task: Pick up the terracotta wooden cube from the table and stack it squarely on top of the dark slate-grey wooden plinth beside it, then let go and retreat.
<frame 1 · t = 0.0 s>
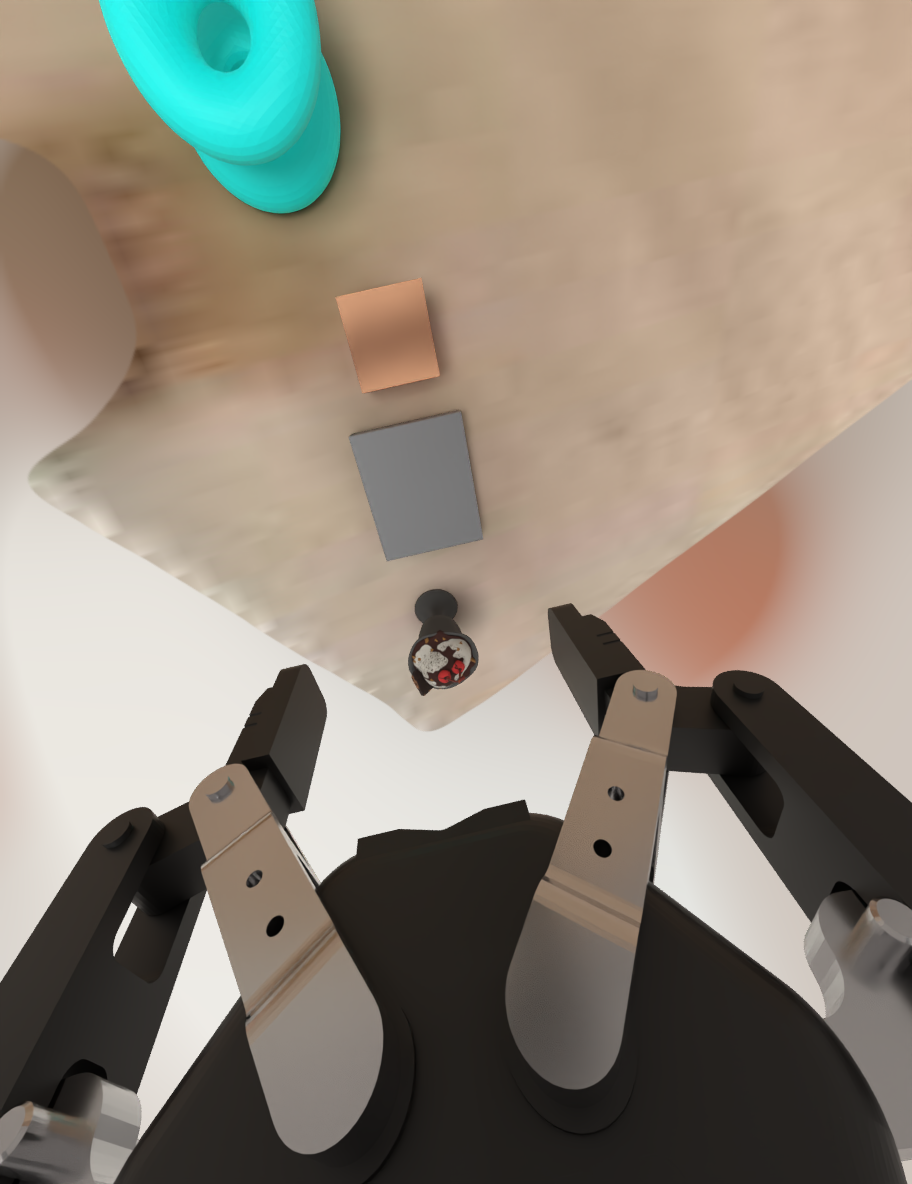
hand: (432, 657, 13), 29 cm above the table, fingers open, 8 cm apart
cube: (392, 345, 34), on the table
sundae: (436, 606, 46), on the table
base: (420, 485, 40), on the table
donuts: (268, 124, 27), on the table
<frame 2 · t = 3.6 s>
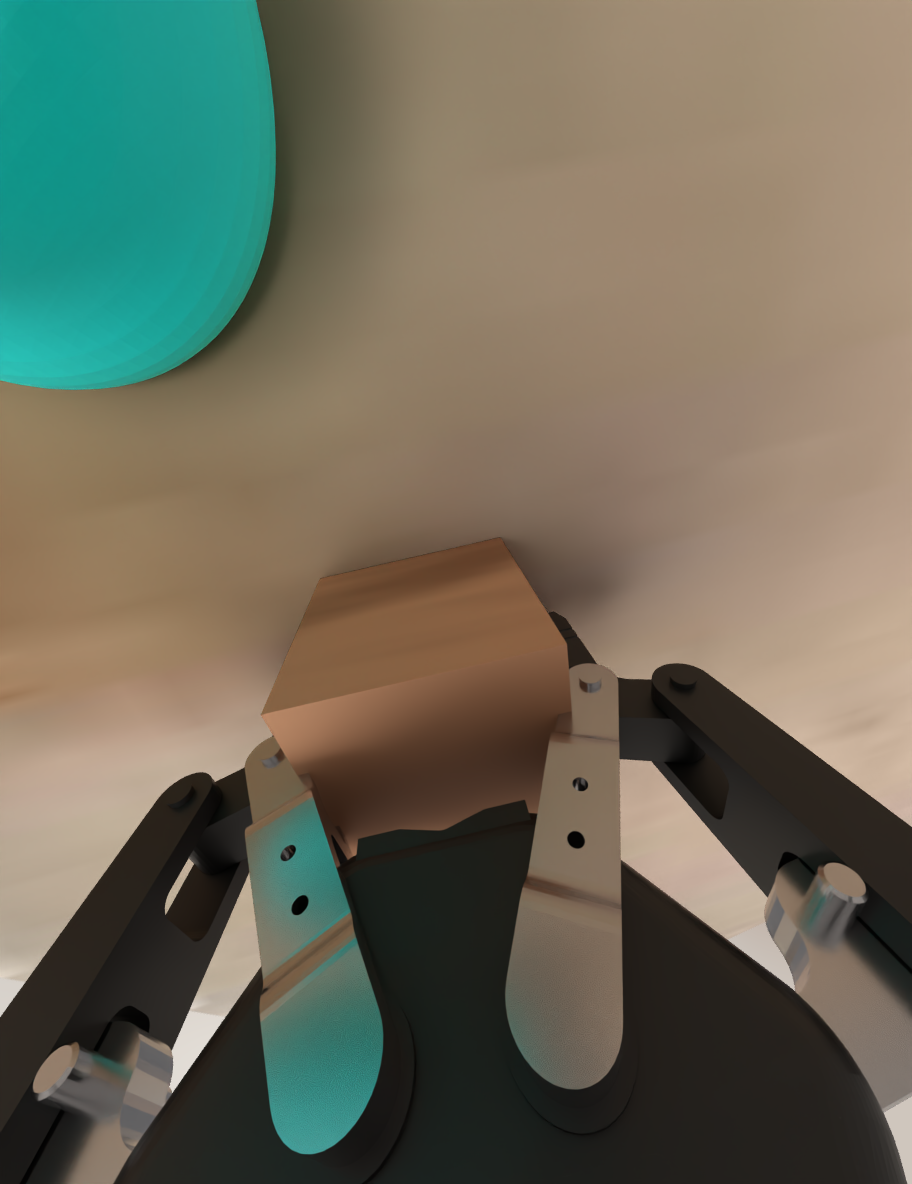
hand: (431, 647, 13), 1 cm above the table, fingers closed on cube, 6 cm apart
cube: (430, 632, 14), on the table, touching gripper
donuts: (27, 102, 8), on the table
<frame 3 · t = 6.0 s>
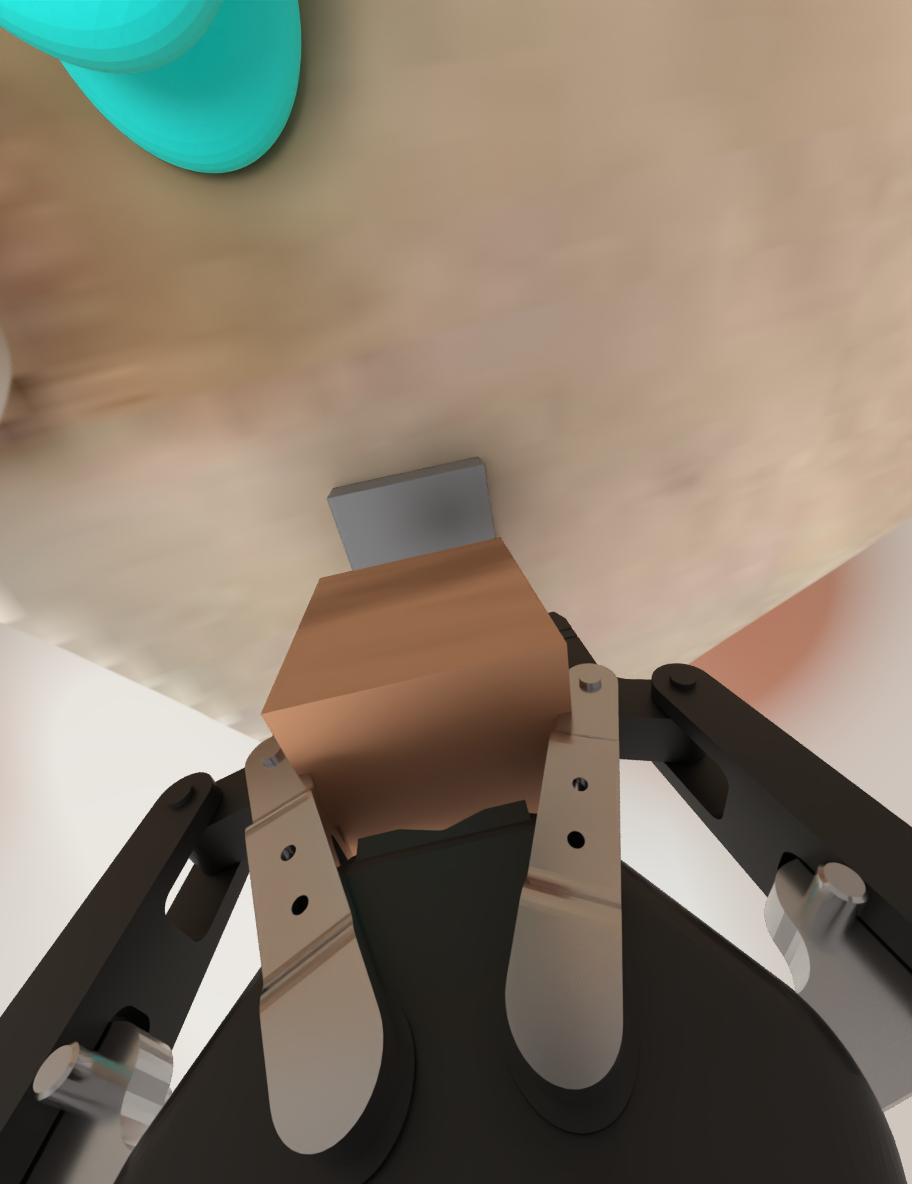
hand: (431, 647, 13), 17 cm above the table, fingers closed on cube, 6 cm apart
cube: (430, 632, 14), point 16 cm above the table, touching gripper
base: (424, 549, 30), on the table
donuts: (186, 25, 17), on the table
when the fingers open (5 cm above the table, at t = 8.8 s): cube drops 2 cm, resting on base.
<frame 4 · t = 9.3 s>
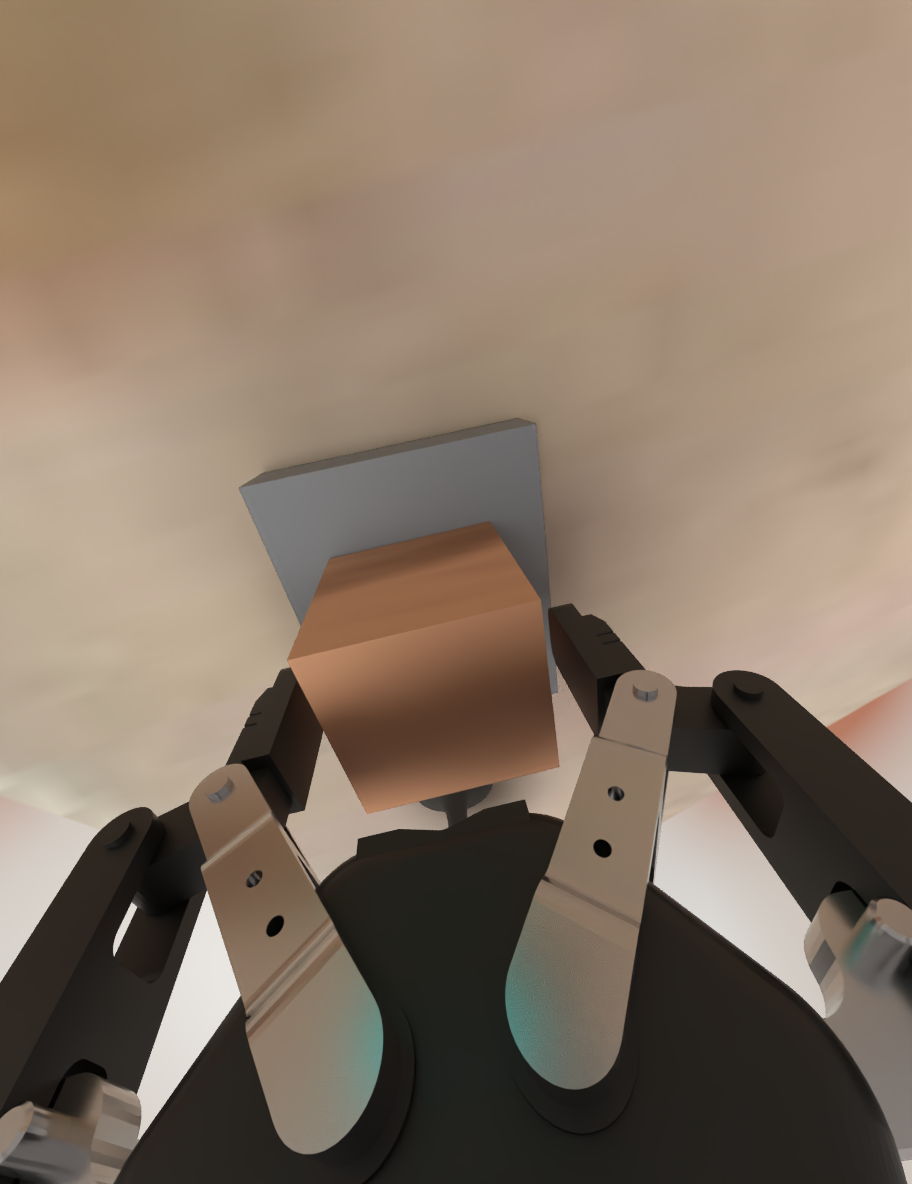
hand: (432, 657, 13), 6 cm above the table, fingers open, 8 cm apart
cube: (428, 608, 16), point 2 cm above the table, touching base
sundae: (453, 780, 25), on the table
base: (424, 576, 18), on the table, touching cube
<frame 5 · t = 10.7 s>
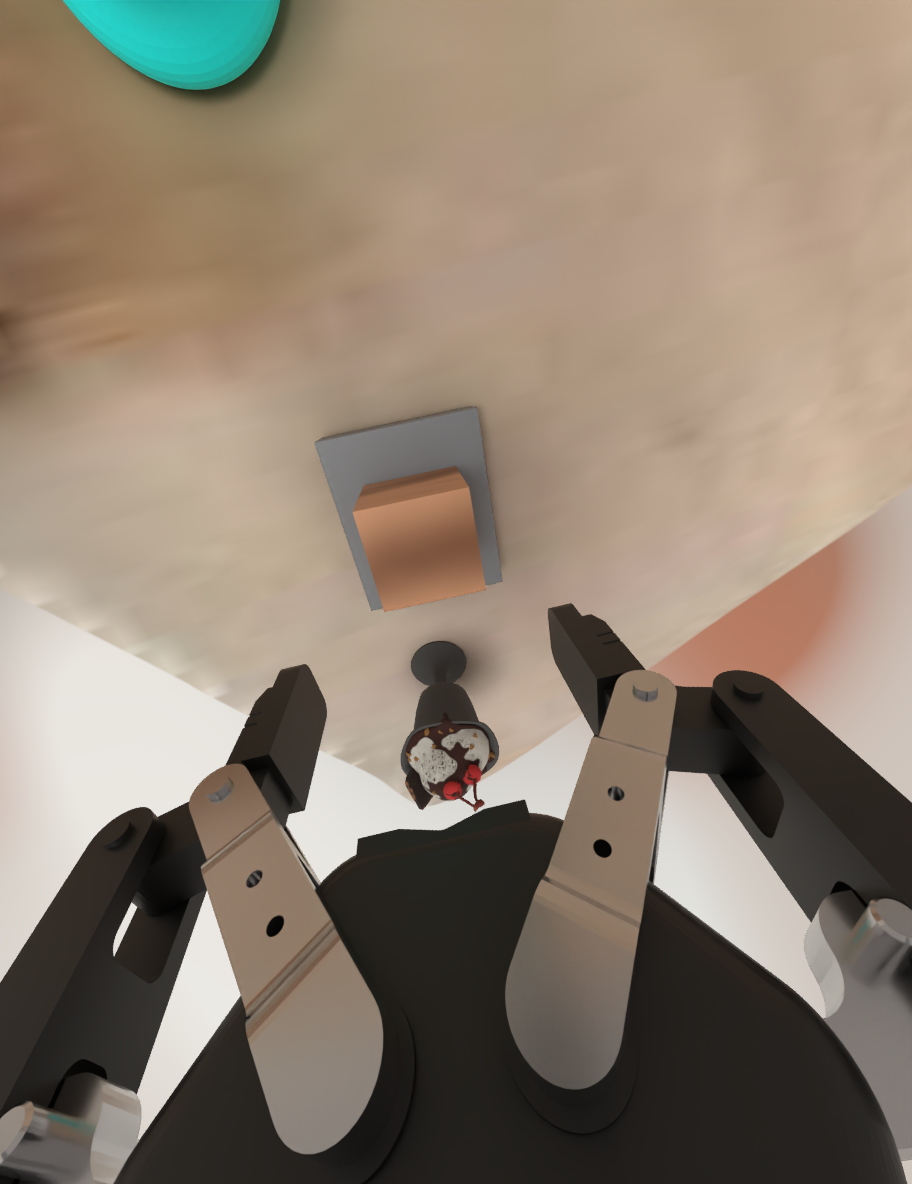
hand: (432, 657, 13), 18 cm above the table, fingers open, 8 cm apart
cube: (420, 520, 27), point 2 cm above the table, touching base
sundae: (438, 662, 35), on the table
base: (417, 507, 29), on the table, touching cube
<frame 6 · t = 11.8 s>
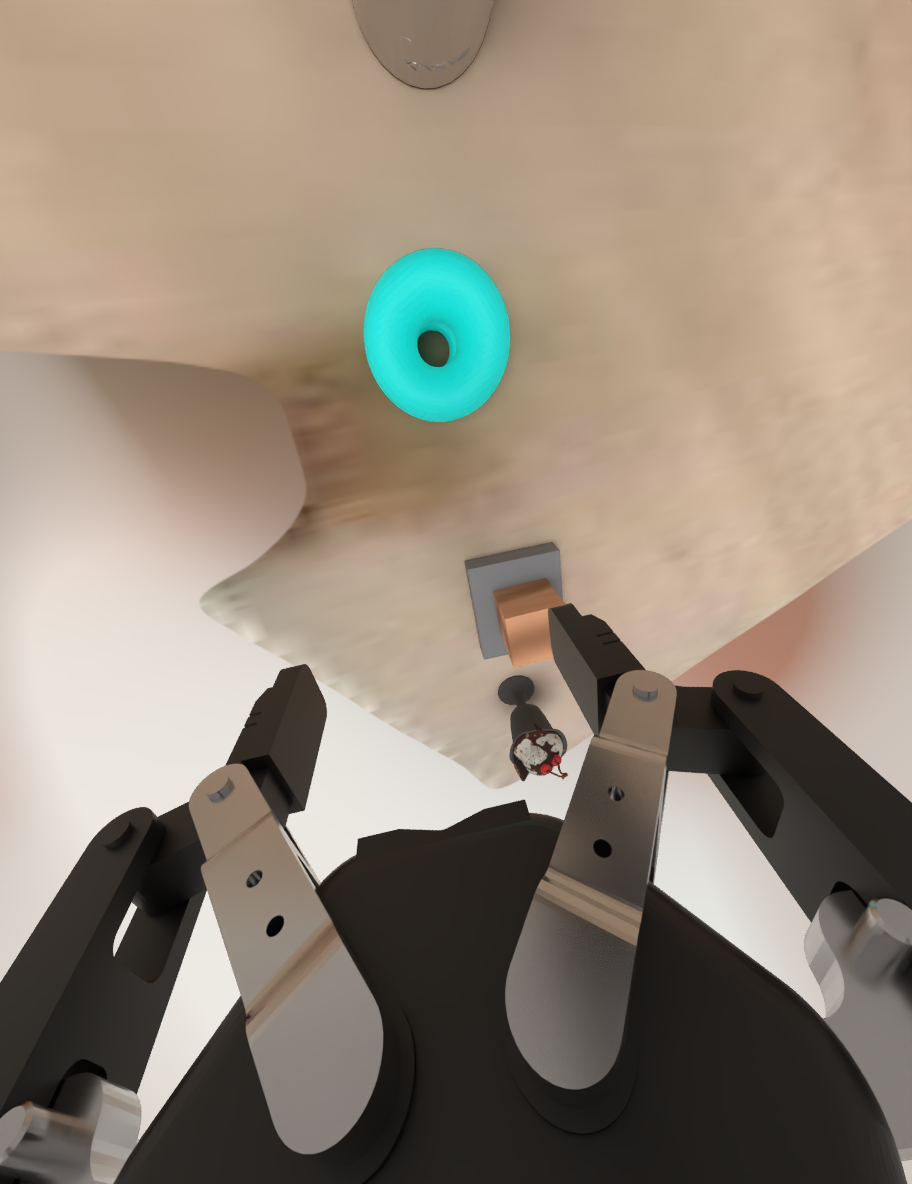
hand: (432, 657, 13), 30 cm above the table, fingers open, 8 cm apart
cube: (522, 607, 45), point 2 cm above the table, touching base
sundae: (515, 688, 53), on the table
base: (513, 596, 47), on the table, touching cube
donuts: (430, 353, 35), on the table
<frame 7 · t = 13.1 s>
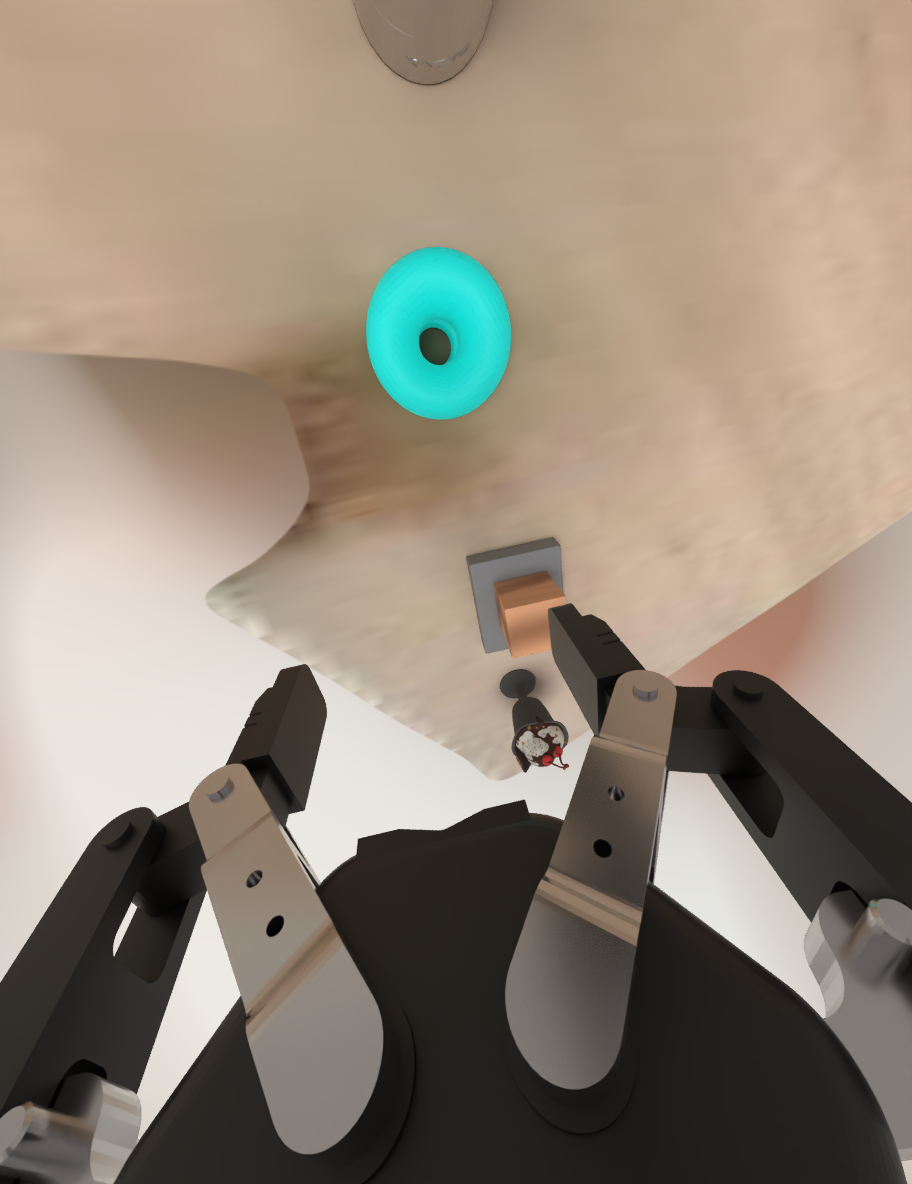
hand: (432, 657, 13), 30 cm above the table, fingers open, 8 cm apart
cube: (522, 599, 45), point 2 cm above the table, touching base
sundae: (517, 682, 54), on the table
base: (514, 590, 48), on the table, touching cube
donuts: (432, 350, 35), on the table
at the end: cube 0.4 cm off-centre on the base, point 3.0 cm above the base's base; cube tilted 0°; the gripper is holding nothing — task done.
